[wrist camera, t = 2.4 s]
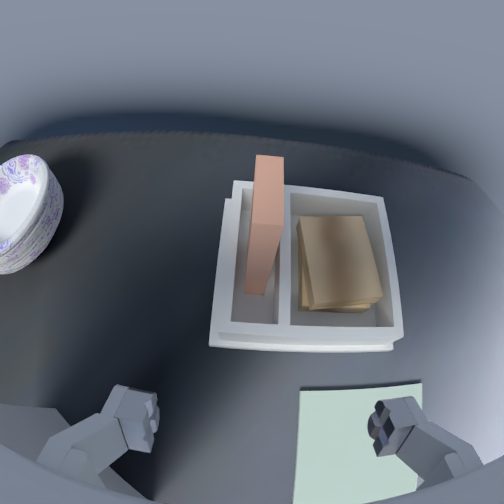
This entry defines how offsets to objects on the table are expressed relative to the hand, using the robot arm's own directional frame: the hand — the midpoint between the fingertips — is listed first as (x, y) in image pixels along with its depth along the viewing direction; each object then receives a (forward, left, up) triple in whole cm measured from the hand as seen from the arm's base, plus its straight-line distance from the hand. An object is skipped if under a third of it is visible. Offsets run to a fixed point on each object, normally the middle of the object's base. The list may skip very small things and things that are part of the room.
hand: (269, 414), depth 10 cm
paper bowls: (+31, -16, -19) cm, 40 cm away
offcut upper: (-8, -14, -16) cm, 22 cm away
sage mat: (-12, +6, -19) cm, 23 cm away
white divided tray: (-6, -14, -19) cm, 24 cm away
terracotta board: (0, -14, -18) cm, 22 cm away
